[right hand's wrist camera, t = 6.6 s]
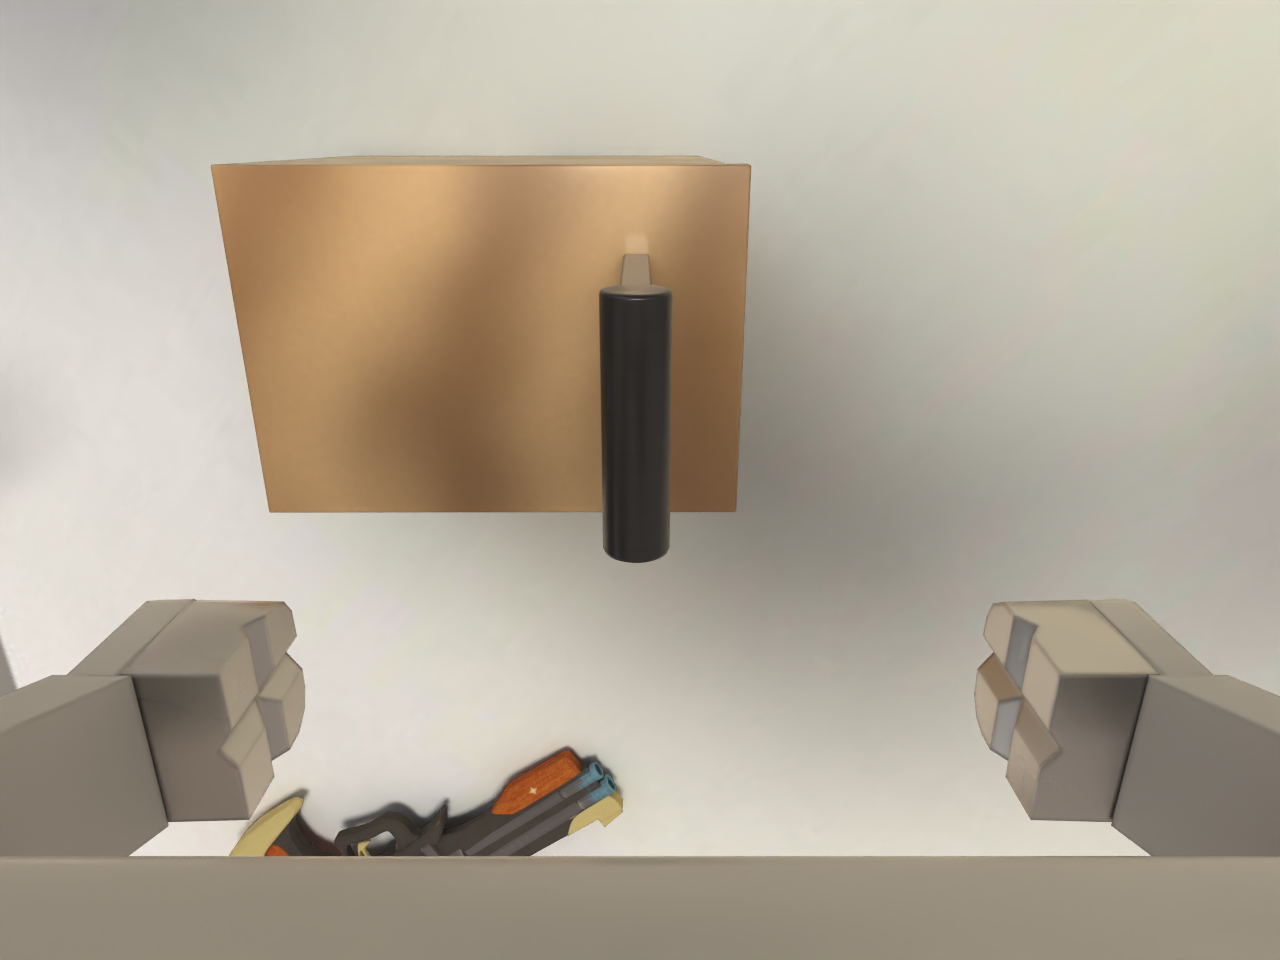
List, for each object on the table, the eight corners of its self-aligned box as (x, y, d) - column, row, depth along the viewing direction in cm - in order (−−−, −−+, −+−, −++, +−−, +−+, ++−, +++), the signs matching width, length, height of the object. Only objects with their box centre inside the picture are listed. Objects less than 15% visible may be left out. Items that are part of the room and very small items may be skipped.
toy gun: (206, 864, 44) (331, 1001, 46) (510, 669, 41) (630, 823, 43) (231, 830, 46) (348, 961, 48) (518, 645, 44) (631, 791, 46)
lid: (747, 163, 24) (802, 176, 16) (733, 502, 27) (772, 650, 19) (223, 164, 24) (16, 177, 16) (279, 502, 27) (133, 650, 19)
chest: (700, 155, 34) (727, 163, 24) (694, 401, 38) (715, 501, 27) (350, 155, 34) (223, 163, 24) (378, 401, 38) (279, 502, 27)
